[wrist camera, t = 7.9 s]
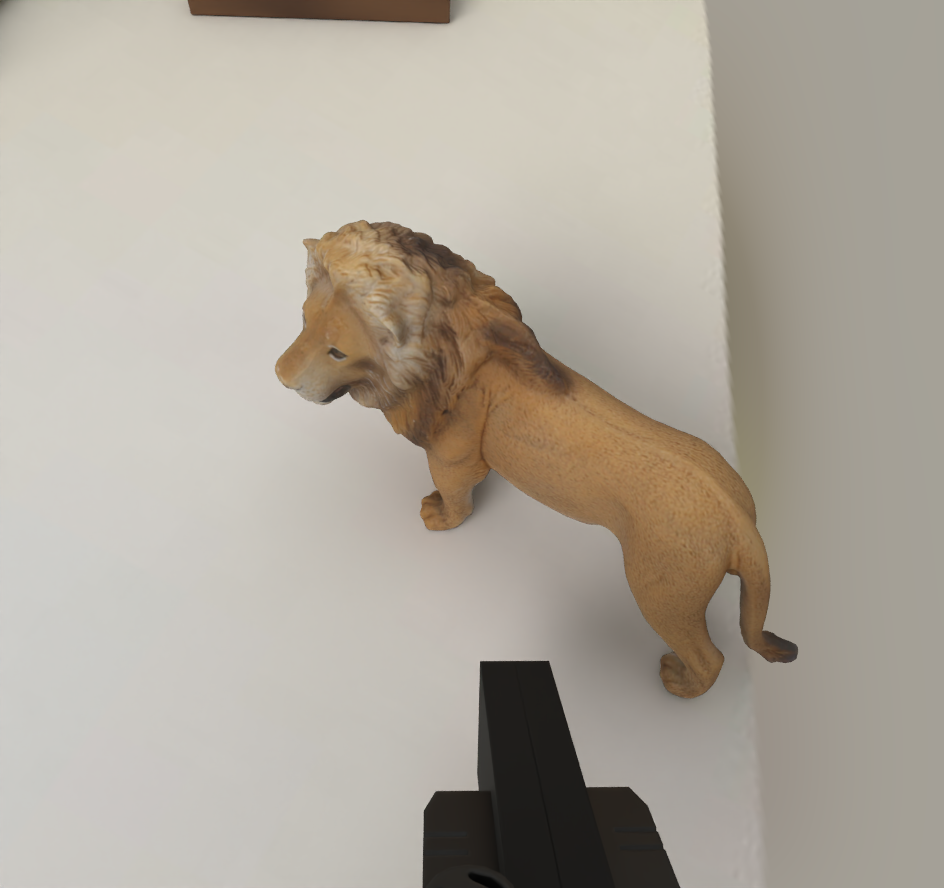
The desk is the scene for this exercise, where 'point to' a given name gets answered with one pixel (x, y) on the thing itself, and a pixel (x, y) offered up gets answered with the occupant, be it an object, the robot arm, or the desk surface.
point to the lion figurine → (529, 430)
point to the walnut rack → (329, 9)
